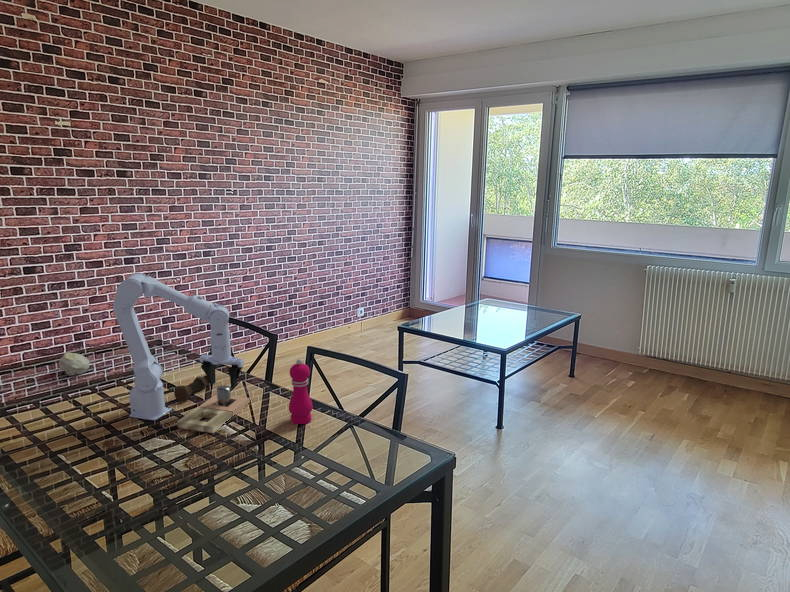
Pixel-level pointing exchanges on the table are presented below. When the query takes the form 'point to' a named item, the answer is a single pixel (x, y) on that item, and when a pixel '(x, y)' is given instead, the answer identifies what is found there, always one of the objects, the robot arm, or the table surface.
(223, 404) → the pin
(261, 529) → the table surface
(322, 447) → the table surface
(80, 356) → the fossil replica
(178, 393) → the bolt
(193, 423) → the pin mount
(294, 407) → the pepper mill
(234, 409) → the socket block
